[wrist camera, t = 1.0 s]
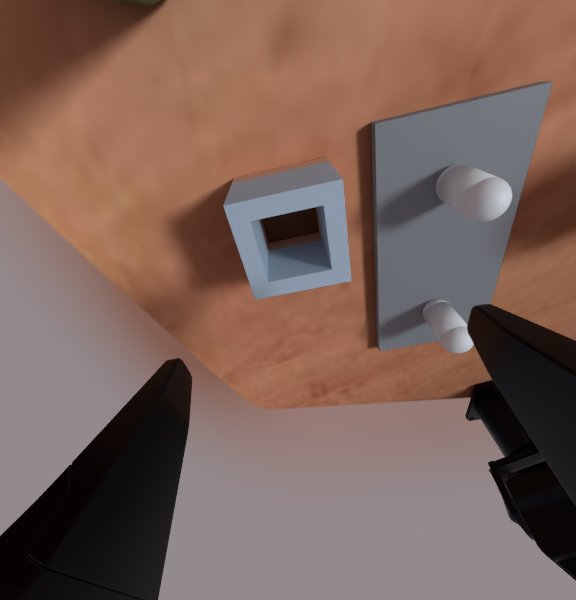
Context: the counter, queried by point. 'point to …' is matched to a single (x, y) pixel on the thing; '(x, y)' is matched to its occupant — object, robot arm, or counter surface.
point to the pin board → (447, 210)
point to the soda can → (138, 2)
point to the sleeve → (299, 250)
